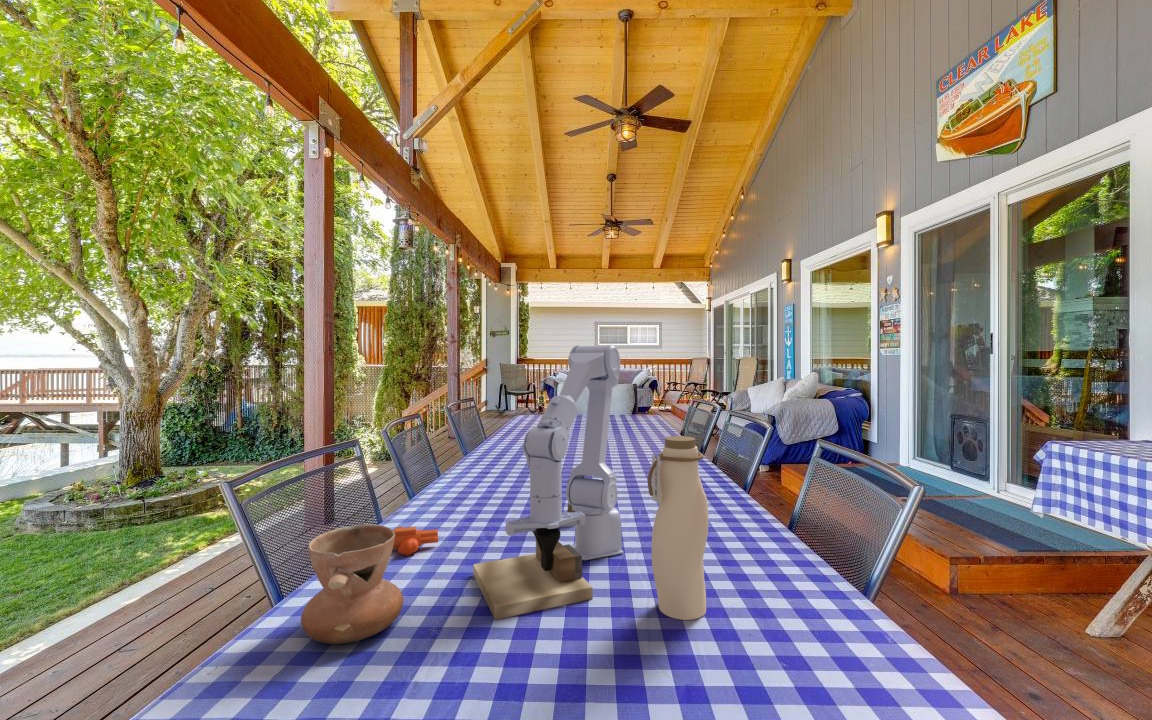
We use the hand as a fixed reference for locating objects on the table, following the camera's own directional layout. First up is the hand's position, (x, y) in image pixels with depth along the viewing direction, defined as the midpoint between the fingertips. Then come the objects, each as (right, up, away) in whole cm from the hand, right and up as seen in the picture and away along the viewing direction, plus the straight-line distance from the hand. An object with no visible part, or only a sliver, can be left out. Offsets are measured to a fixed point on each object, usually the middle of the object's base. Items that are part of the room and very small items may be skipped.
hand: (546, 568), depth 91 cm
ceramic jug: (-29, -4, -13) cm, 32 cm away
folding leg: (+1, -1, +3) cm, 4 cm away
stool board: (-3, -3, 0) cm, 5 cm away
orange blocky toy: (-31, -4, +18) cm, 36 cm away
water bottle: (+22, -3, -9) cm, 24 cm away
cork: (+6, -3, +36) cm, 37 cm away
